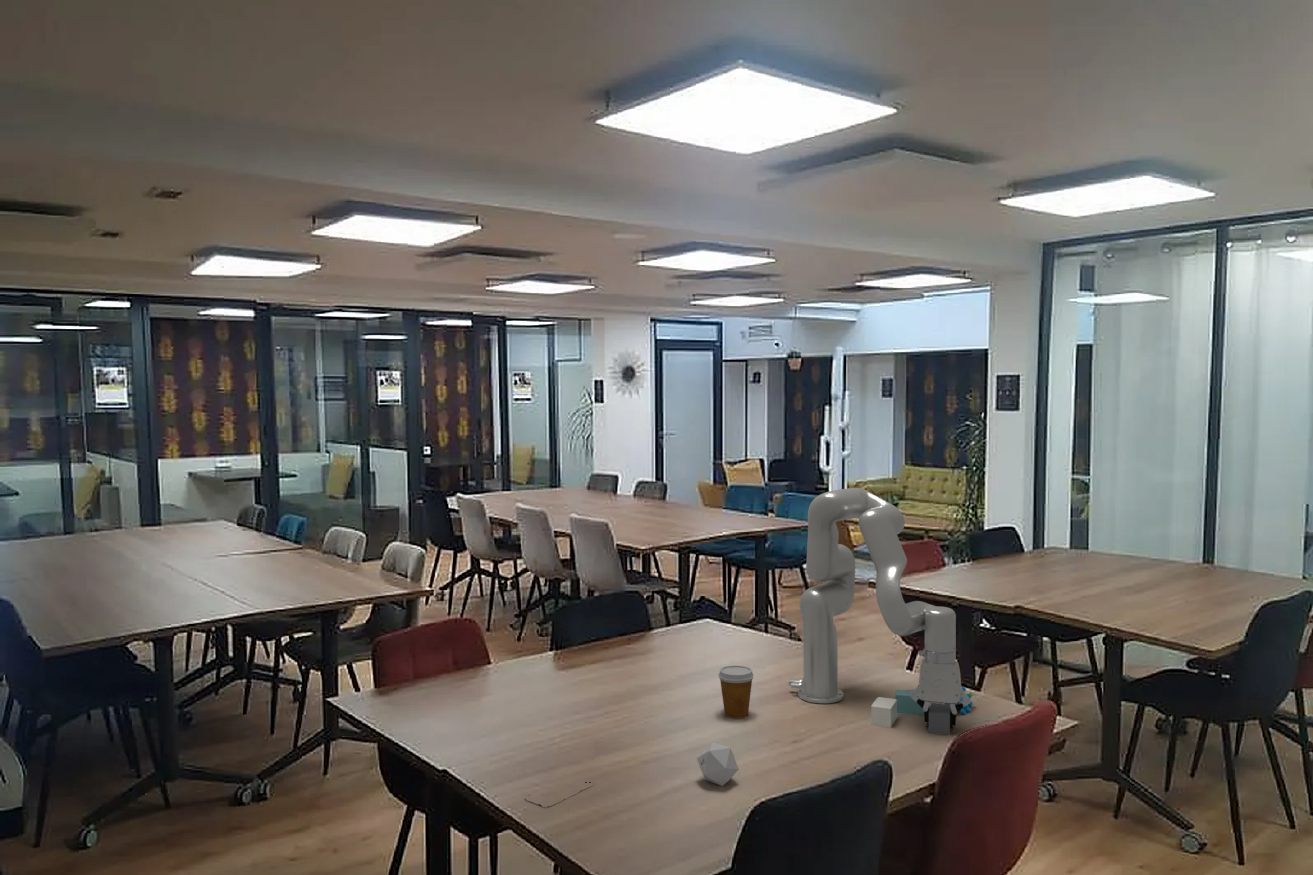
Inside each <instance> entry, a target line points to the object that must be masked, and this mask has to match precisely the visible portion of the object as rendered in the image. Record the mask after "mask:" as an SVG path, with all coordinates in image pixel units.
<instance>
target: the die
mask: <svg viewBox="0 0 1313 875" xmlns="http://www.w3.org/2000/svg"><path fill="white" fill-rule="evenodd" d="M696 761H697V763H698V765H699V768H700V770H701V774H702V776H703V778H704V780H705V781H707V782H710V783H712V784H715V785H717V786H721V787H723V786H724V785H726V783H727V782H729V780H730V779H732V778H733V776H734V775H736V773H738V771H739V770H740V769H739V766H738V764H737V762H736V759H735V756H734V753H733V751H732V747H729V746H727V745H722V744H719V743H716V742H711V743H710V744H709V746H707V748H705V749H704V751H702V753H700V754H699V755H698V757H696Z"/></svg>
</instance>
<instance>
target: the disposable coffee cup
mask: <svg viewBox="0 0 1313 875" xmlns="http://www.w3.org/2000/svg"><path fill="white" fill-rule="evenodd" d="M719 669H720V670H719V673H718V676H717V677H718V678H719V682H720V687H721V689H720V690H721V697H722V704H723V710H724V715H725V716H726V717H727V718H731V719H744V718H746V717H748V715H749V710H750V702H751V692H752V683H753V679H754V677H755V674H754V673H753V669H752V668H751V667H748V666H745V665H727V666H723V667H721V668H719Z"/></svg>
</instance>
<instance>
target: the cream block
mask: <svg viewBox="0 0 1313 875" xmlns="http://www.w3.org/2000/svg"><path fill="white" fill-rule="evenodd" d="M897 718H898V713H897V699H895V698H888V697H882V696H878V697H876V699H875V700H874V702H873V703H871V706H870V725H871V726H876V727H877V726H878V727H884V728H892V726H893V724H894V723H895V721H896V720H897Z"/></svg>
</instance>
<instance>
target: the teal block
mask: <svg viewBox="0 0 1313 875" xmlns="http://www.w3.org/2000/svg"><path fill="white" fill-rule="evenodd" d="M894 691H895V693H894V694H895V697H894V699H897V714H905V715H918V714H919V715H921V716H924V711H923V709H922V708H921V707H920V706H919V705H918V704H917V702H916V701H914V700H913V699H912V698H911V697H910V694H911V693H912V692H913V691H914V689H898V688H895V690H894ZM918 696H919V694H918ZM919 698H920V697H919ZM924 702H925V701H924ZM919 715H918V716H919Z"/></svg>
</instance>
